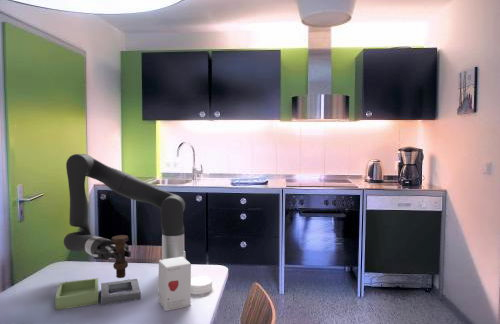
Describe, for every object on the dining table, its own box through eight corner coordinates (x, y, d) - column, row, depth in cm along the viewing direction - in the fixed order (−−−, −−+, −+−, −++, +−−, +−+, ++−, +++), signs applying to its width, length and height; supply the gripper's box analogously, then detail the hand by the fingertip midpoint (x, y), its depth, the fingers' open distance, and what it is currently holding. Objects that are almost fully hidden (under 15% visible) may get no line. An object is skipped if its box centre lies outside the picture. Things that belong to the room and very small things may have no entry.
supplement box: (165, 312, 118) (165, 267, 117) (158, 301, 126) (157, 259, 125) (191, 306, 122) (191, 263, 121) (183, 296, 130) (182, 255, 129)
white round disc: (205, 296, 130) (205, 287, 130) (181, 293, 133) (181, 284, 133) (216, 286, 140) (216, 277, 140) (193, 283, 143) (193, 274, 142)
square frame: (137, 284, 140) (137, 278, 140) (140, 299, 127) (140, 292, 127) (101, 289, 135) (101, 283, 135) (101, 305, 122) (101, 298, 122)
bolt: (122, 280, 128) (121, 239, 127) (110, 279, 129) (109, 238, 128) (131, 274, 133) (130, 235, 132) (119, 273, 134) (118, 234, 133)
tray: (98, 288, 137) (98, 278, 136) (98, 303, 124) (97, 292, 123) (60, 293, 132) (59, 282, 131) (55, 309, 119) (55, 298, 118)
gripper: (81, 241, 133) (106, 250, 123) (115, 234, 144) (141, 241, 134) (81, 261, 134) (107, 271, 123) (115, 252, 145) (141, 260, 134)
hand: (124, 255), depth 129 cm, fingers closed on bolt, 3 cm apart
